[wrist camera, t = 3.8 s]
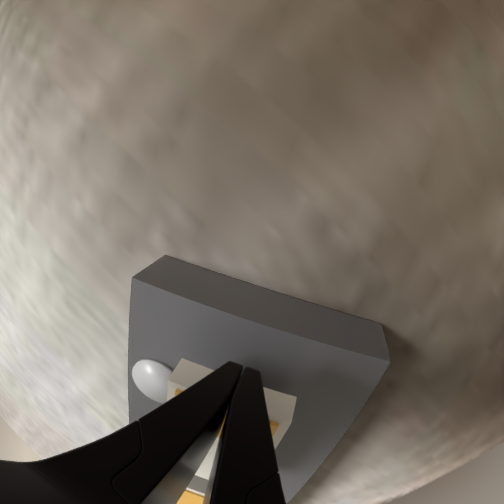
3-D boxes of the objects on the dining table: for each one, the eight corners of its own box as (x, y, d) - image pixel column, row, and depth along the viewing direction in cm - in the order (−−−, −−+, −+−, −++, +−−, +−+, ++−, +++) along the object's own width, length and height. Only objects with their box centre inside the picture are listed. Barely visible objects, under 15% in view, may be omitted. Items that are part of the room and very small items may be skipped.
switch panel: (255, 518, 18) (247, 544, 16) (149, 480, 19) (135, 504, 17) (381, 323, 11) (391, 365, 9) (164, 255, 13) (128, 279, 10)
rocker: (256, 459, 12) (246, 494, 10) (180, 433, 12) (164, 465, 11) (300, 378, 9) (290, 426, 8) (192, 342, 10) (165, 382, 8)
